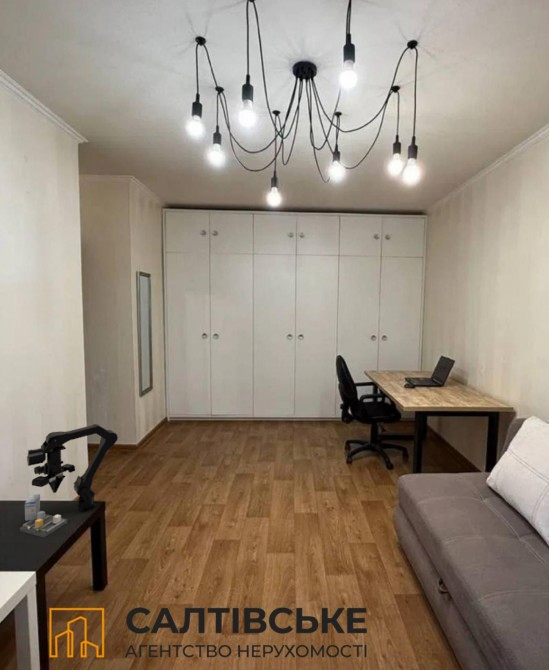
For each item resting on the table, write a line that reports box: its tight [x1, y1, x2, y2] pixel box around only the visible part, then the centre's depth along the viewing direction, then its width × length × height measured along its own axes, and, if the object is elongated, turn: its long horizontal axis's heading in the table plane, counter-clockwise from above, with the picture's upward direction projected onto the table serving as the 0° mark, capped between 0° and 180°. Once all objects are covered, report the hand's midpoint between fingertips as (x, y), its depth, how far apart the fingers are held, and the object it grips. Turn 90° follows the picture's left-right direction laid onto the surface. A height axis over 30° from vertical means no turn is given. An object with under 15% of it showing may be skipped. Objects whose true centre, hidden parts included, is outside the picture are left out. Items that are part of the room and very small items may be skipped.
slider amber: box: [35, 519, 44, 528], centre depth 161 cm, size 3×2×3 cm
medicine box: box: [24, 493, 41, 522], centre depth 172 cm, size 8×4×9 cm, turn 21°
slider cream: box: [53, 514, 62, 524], centre depth 164 cm, size 3×2×3 cm
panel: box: [19, 513, 68, 538], centre depth 164 cm, size 12×14×2 cm
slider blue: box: [37, 510, 46, 519], centre depth 167 cm, size 3×2×3 cm
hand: (54, 492), depth 171 cm, fingers closed
